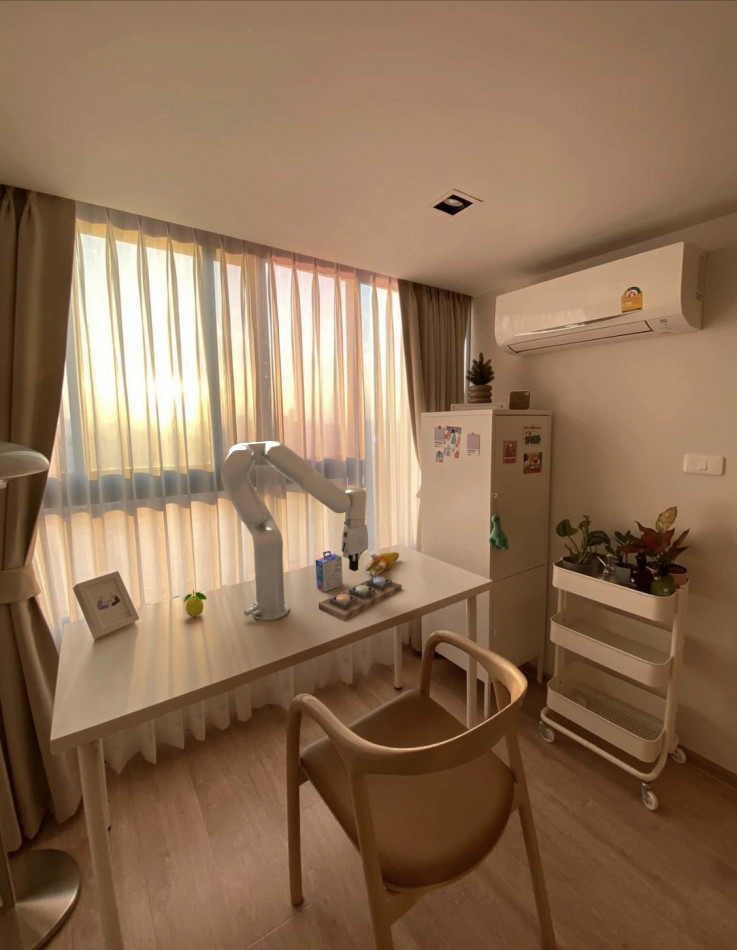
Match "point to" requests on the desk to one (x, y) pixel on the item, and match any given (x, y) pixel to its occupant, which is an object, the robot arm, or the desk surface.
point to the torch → (381, 563)
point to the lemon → (194, 603)
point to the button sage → (362, 589)
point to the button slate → (379, 580)
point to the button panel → (359, 598)
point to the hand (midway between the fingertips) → (353, 569)
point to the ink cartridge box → (329, 572)
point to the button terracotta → (343, 598)
